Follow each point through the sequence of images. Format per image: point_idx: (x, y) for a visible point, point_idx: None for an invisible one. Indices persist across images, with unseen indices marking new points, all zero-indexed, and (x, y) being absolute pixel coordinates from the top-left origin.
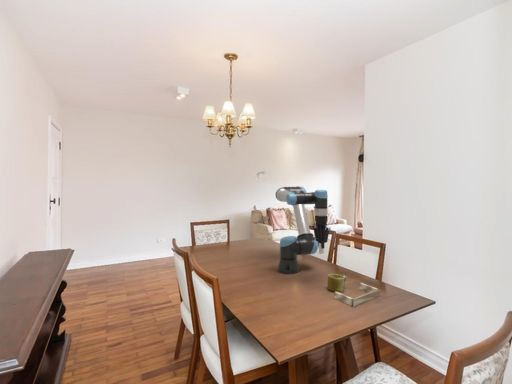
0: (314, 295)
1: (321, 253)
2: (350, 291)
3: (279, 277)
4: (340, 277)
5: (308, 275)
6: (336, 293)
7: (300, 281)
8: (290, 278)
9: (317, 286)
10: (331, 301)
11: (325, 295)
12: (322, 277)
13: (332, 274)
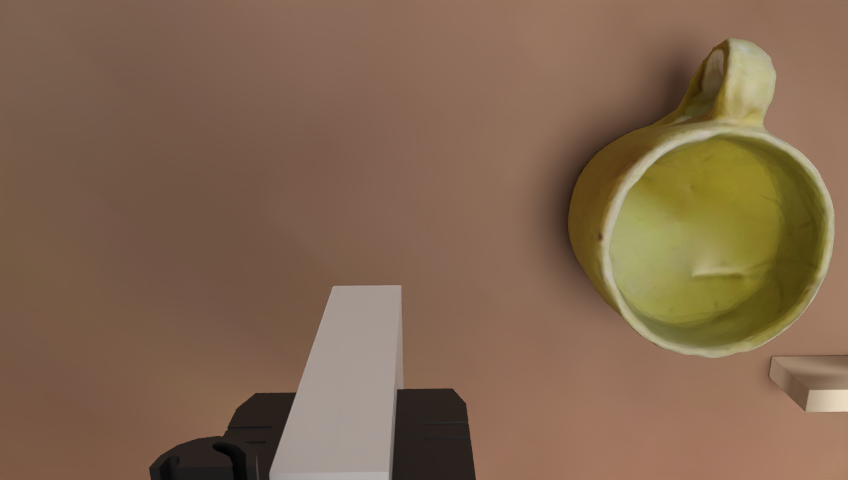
0: (599, 473)
1: (402, 370)
2: (794, 106)
3: (9, 459)
4: (710, 139)
5: (111, 136)
6: (829, 407)
7: (235, 353)
8: (96, 384)
9: (459, 302)
10: (787, 442)
11: (669, 396)
12: (270, 31)
13: (619, 213)
